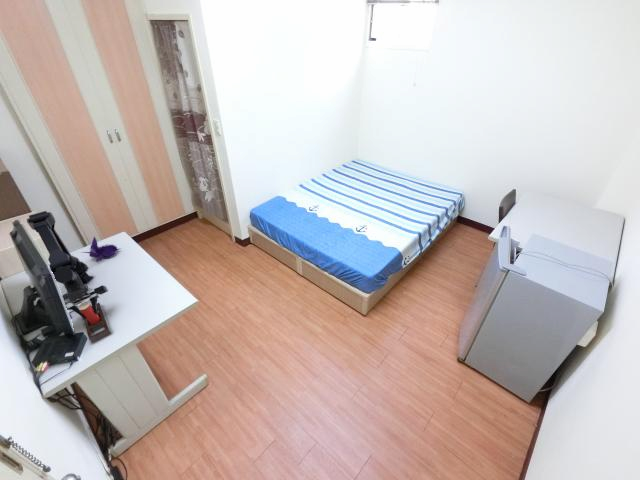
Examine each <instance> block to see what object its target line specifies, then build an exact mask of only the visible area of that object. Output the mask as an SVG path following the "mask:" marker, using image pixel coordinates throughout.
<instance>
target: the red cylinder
mask: <svg viewBox="0 0 640 480" xmlns="http://www.w3.org/2000/svg"><path fill="white" fill-rule="evenodd" d="M91 306H92V304H90V303H89V302H88V301H85V302H81V304H79V305H78V309H79V310H80V311H81V312H82V314H83V315H84V316H85V317H86V319H87V320H88V321H89V322H90V325H93V324H95V323H97V322H99V321H101V320H102V319H101V318H100V317H99V316H98V315H97V314H96V313H95V312H94V309H93V308H92V307H91Z"/></svg>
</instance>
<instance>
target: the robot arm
mask: <svg viewBox="0 0 640 480" xmlns="http://www.w3.org/2000/svg"><path fill="white" fill-rule="evenodd" d="M26 223H27V224H28V226H29V227H30V228H31V230H33V231H35V232H36V233H38V235H39V237H40V239H41V241H42V243H43V244H44V246H45V248H46V250H47V252H48V254H49V256H48V263H49V264H48V266H49V270H50V272H51V271H52V272H53V274H54V276H53V278H54V277H55V278H54V280H55V279H56V280H55V281H56V282H58V283H59V284H62V285H63V287H64V288H65V290H66V292H67V293H66V296H67V298H68V300H69V301H67V302H64V303H65V305H66V308H67V310H66V311H73V312H75V313H76V314H78V315H79V316H80V317H81V318H82V319H83V318H84V319H86V317H85V316H84V315H83V314H82V312H81V311H80V310H79V309H78V307H79V305H77V304H78V303H80V302H81V303H82V302H83V301H85V300H89V302H90V303H91V304H90V305H91V306H92V307H93V309H94V312H95V313H96V314H97V312H98V310H97V303H98V299H100V295H101V296H102V295H104V294H105V293H108V292H109V288H107V286H106V285H100V286H97V287H95V288H93V290H92V291H91V292H89V291H90V288H89V287H88V286H87V284H88V283H90V281H91V280H92V279H93V278H94V276H91V275H89V274H88V271H89V269H90V268H89V267H88V265H87V264H86V262H85V263H84V262H83V261H80V259H79V258H78V257H76V256H73V255H72V254H71V252H70V251H69V249H68V248H67V246H66V245H65V243H64V241H63V240H62V238H61V237H60V235H59V234H58V232H57V231H56V229H55V225H56V218H55V217H54V215H53V213H52V212H51V211H47V210H44V211H39V212H36V213H33V214H29V215H28V218H26Z"/></svg>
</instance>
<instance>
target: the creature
mask: <svg viewBox="0 0 640 480" xmlns="http://www.w3.org/2000/svg"><path fill="white" fill-rule="evenodd" d="M88 250H89V251H82V252H81V253H83V254H88V255H89V257H91V258H96V259H95V260H94V261H96V262H100V261H101V260H102V258H103V259H109V258H112V257H113V256H115V255H116V253H117V252H118V251H119V250H120V248H118V246H116V245H115V244H114V243H113V244H112V243H111V244H108V243H106V244H102V245H101V246H99V245H98V240H97V239H96V237H95V236H93V239H92V242H91V245H90V248H88Z"/></svg>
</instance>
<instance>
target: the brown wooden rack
mask: <svg viewBox="0 0 640 480" xmlns="http://www.w3.org/2000/svg"><path fill="white" fill-rule="evenodd" d="M91 307H92V305H91ZM92 308H93V307H92ZM97 315H98V316H99V317H100V319H101V321H99V322H97V323H95V324H93V325H91V324H90V322H89V321H88V320H87V319H84V318H82V320H83V323H84V327H85V330H86V333H87V337H88V340H89V341H90V342H91V343H92V344H94V343H96V342H98V341H100V340H102V339H103V338H105V337H108V336H109V335H111V334H112V330H111V327H110V324H109V322H108V319H107V317H106V314H105V311H104V308H103V305H102V304H101V302H97ZM102 328H104V329H102ZM100 329H102V330H101V331H98V330H100ZM96 331H98V332H96ZM94 332H96V333H94Z"/></svg>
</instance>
